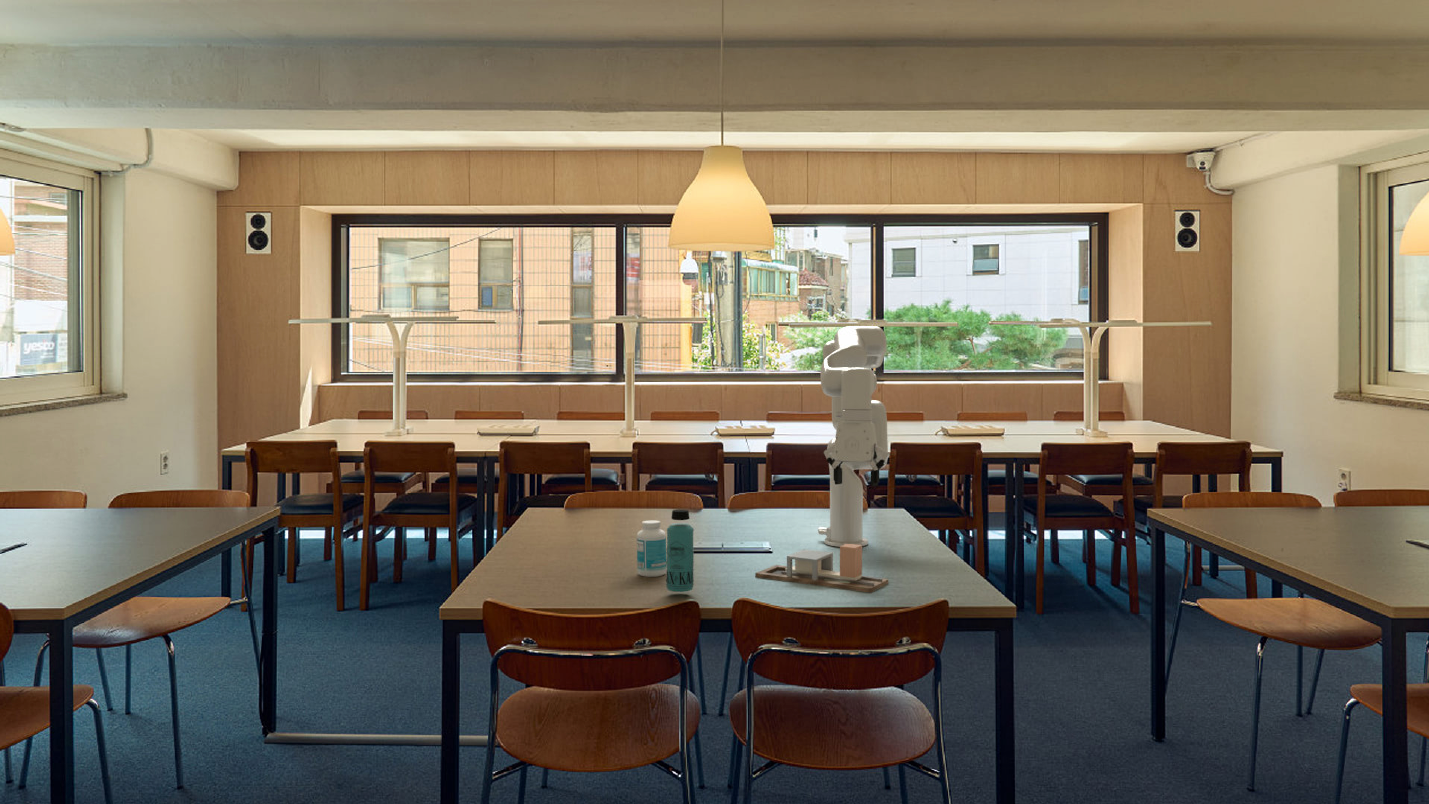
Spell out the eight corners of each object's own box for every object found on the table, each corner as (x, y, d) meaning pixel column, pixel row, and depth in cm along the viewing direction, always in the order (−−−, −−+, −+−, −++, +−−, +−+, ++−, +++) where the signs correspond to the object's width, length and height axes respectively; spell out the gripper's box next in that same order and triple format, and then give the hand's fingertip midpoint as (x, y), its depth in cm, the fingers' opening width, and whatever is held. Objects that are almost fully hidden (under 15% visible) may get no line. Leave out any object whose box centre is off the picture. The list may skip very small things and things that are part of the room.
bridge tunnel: (786, 576, 242) (786, 556, 242) (804, 569, 250) (804, 549, 250) (816, 580, 238) (816, 559, 238) (832, 572, 246) (832, 552, 246)
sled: (784, 572, 245) (784, 540, 245) (792, 568, 249) (792, 537, 249) (854, 581, 235) (854, 548, 235) (862, 577, 239) (862, 545, 239)
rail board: (755, 577, 246) (755, 570, 246) (776, 568, 255) (776, 562, 255) (870, 592, 230) (870, 586, 230) (888, 583, 239) (888, 576, 239)
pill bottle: (670, 572, 252) (670, 520, 251) (659, 578, 245) (659, 524, 244) (643, 570, 254) (643, 518, 253) (632, 576, 247) (632, 523, 246)
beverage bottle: (665, 592, 231) (665, 507, 230) (693, 591, 231) (693, 507, 230) (666, 598, 224) (666, 512, 223) (695, 598, 225) (695, 511, 224)
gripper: (818, 416, 247) (818, 484, 248) (883, 417, 238) (883, 488, 239) (831, 416, 254) (830, 482, 254) (894, 417, 245) (894, 485, 245)
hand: (856, 485), depth 246 cm, fingers open, 9 cm apart
